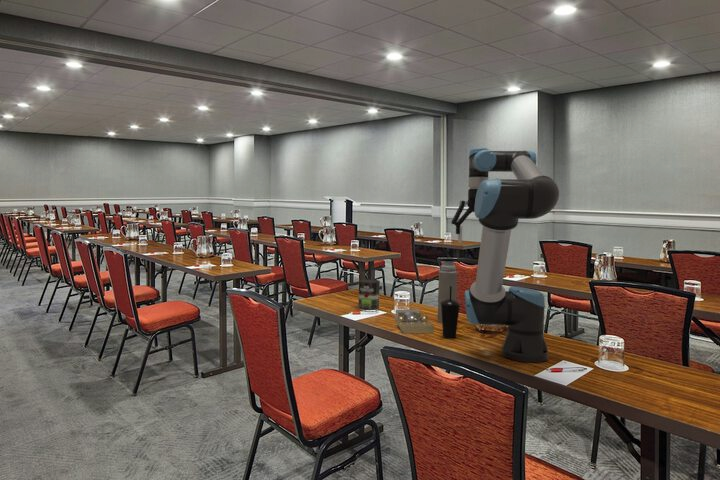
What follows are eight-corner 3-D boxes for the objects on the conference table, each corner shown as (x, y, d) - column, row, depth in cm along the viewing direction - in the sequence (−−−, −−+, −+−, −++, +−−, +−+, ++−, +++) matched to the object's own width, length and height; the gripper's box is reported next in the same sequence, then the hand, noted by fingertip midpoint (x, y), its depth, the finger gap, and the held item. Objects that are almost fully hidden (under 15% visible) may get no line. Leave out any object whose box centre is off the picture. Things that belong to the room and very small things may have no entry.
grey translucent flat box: (433, 333, 198) (433, 322, 197) (403, 333, 196) (403, 322, 196) (425, 325, 210) (425, 314, 210) (396, 325, 209) (397, 315, 209)
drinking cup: (459, 340, 188) (460, 288, 186) (439, 339, 189) (440, 287, 188) (459, 335, 195) (460, 285, 194) (440, 333, 197) (441, 284, 195)
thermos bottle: (437, 319, 221) (438, 257, 219) (455, 319, 220) (456, 257, 218) (438, 323, 213) (439, 259, 211) (456, 324, 212) (458, 259, 210)
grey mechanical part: (395, 320, 218) (395, 309, 218) (417, 320, 220) (417, 309, 219) (400, 327, 207) (401, 315, 206) (424, 327, 208) (424, 315, 208)
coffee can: (376, 312, 233) (376, 283, 232) (355, 310, 236) (355, 281, 235) (381, 308, 243) (382, 279, 242) (361, 306, 246) (362, 278, 245)
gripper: (504, 189, 197) (503, 241, 199) (444, 188, 194) (443, 241, 196) (512, 188, 190) (510, 243, 191) (449, 187, 187) (448, 243, 188)
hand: (476, 242), depth 194 cm, fingers open, 13 cm apart
